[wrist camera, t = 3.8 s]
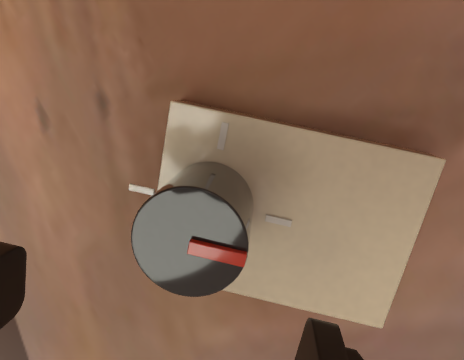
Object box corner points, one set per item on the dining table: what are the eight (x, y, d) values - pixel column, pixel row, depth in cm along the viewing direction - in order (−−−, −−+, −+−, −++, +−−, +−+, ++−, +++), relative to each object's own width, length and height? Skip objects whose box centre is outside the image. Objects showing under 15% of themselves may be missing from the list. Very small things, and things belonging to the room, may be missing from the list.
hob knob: (160, 234, 19) (120, 286, 14) (173, 152, 18) (135, 175, 13) (243, 254, 19) (234, 314, 14) (262, 172, 18) (260, 204, 12)
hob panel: (133, 250, 22) (118, 267, 20) (154, 94, 19) (140, 94, 17) (371, 307, 21) (383, 331, 19) (428, 152, 18) (448, 160, 16)
